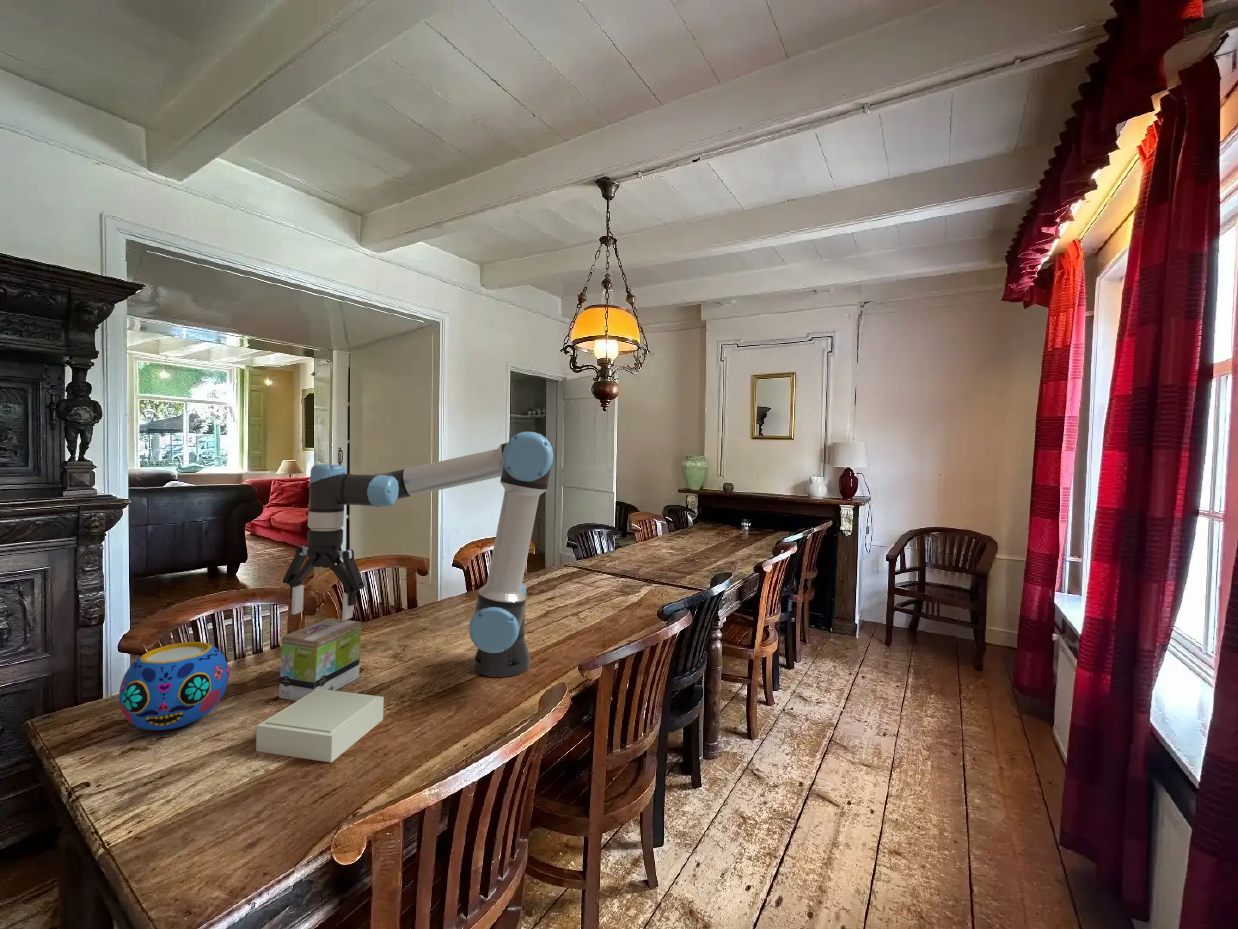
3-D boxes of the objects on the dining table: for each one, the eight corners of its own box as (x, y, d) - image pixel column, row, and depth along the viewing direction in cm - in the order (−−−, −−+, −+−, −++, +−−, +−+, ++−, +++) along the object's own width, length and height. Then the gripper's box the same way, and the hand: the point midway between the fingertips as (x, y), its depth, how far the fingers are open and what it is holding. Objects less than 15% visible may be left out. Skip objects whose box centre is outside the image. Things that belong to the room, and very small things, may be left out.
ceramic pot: (101, 755, 97) (102, 675, 96) (135, 711, 112) (137, 642, 112) (218, 735, 105) (220, 661, 104) (235, 696, 121) (236, 632, 120)
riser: (383, 719, 113) (383, 695, 113) (331, 762, 97) (331, 734, 97) (317, 711, 116) (317, 687, 116) (256, 751, 100) (256, 724, 100)
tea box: (315, 705, 118) (317, 640, 118) (277, 699, 120) (279, 635, 120) (360, 677, 133) (362, 620, 133) (326, 672, 135) (328, 616, 135)
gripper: (382, 530, 127) (378, 616, 128) (292, 522, 131) (288, 606, 132) (362, 534, 120) (358, 626, 121) (267, 526, 124) (264, 615, 124)
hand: (322, 615), depth 126 cm, fingers open, 13 cm apart
